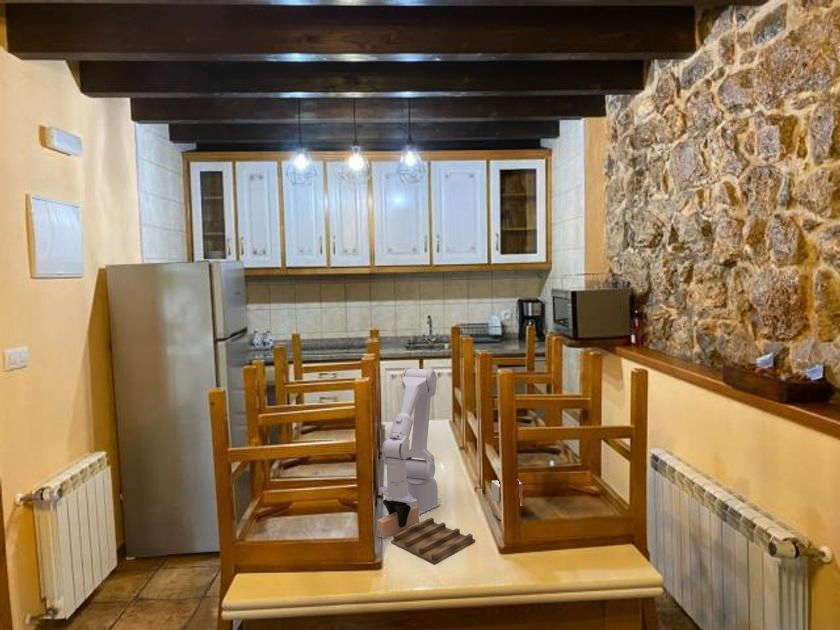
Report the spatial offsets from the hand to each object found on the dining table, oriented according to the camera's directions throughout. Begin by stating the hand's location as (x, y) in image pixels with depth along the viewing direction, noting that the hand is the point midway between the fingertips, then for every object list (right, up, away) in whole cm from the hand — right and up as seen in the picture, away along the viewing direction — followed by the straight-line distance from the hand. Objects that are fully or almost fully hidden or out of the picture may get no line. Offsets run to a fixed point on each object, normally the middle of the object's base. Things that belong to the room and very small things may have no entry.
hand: (398, 524), depth 165 cm
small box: (+33, 0, +6) cm, 33 cm away
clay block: (0, -2, 0) cm, 2 cm away
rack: (+10, -2, -9) cm, 13 cm away
